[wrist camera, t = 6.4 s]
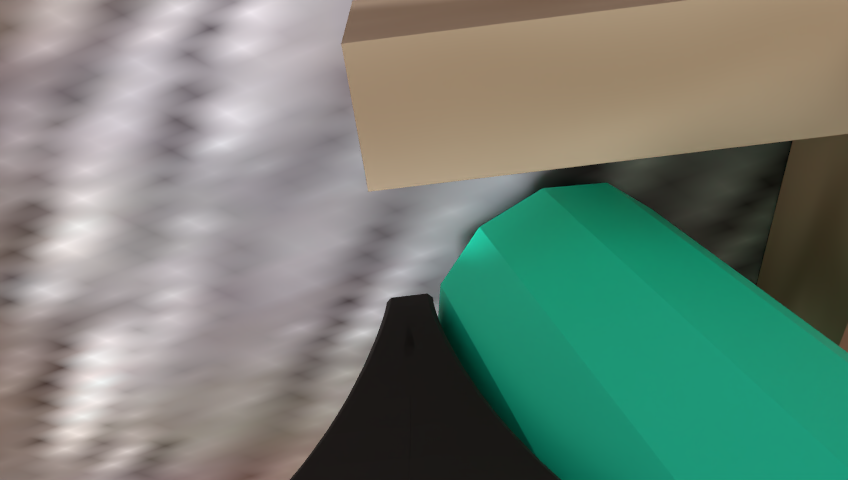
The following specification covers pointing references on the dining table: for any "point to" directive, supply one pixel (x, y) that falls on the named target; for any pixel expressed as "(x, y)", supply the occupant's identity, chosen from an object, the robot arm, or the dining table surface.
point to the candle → (639, 349)
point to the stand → (618, 104)
